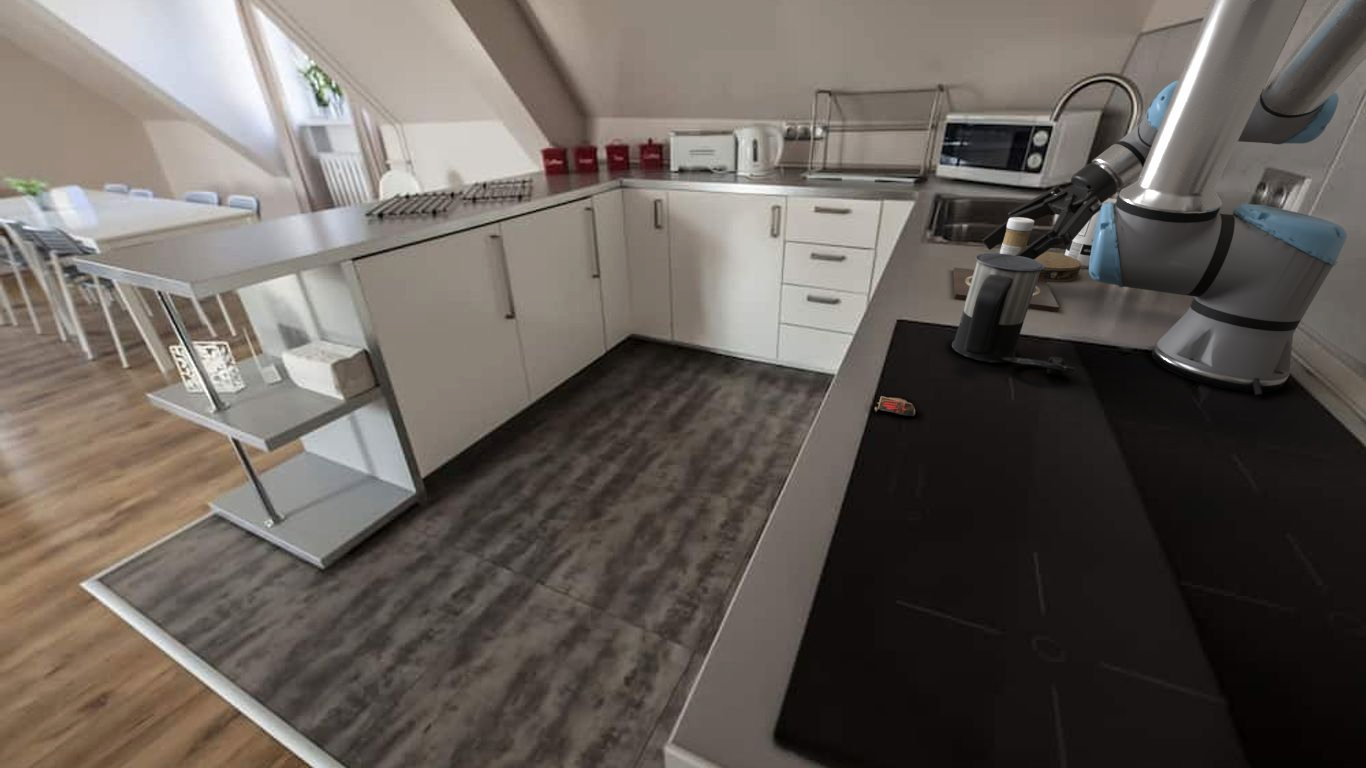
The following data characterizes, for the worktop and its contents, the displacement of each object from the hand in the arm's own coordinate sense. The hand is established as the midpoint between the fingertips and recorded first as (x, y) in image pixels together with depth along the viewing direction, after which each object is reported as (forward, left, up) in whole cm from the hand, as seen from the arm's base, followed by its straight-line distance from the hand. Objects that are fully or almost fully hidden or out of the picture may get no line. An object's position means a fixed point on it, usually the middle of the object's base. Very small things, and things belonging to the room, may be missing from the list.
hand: (1000, 253), depth 113 cm
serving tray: (+1, -2, -8) cm, 8 cm away
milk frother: (-37, 0, -8) cm, 38 cm away
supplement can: (+31, -22, -8) cm, 39 cm away
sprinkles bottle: (+1, -2, -7) cm, 7 cm away
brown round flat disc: (+20, -11, -8) cm, 24 cm away
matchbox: (-59, +15, -8) cm, 61 cm away
